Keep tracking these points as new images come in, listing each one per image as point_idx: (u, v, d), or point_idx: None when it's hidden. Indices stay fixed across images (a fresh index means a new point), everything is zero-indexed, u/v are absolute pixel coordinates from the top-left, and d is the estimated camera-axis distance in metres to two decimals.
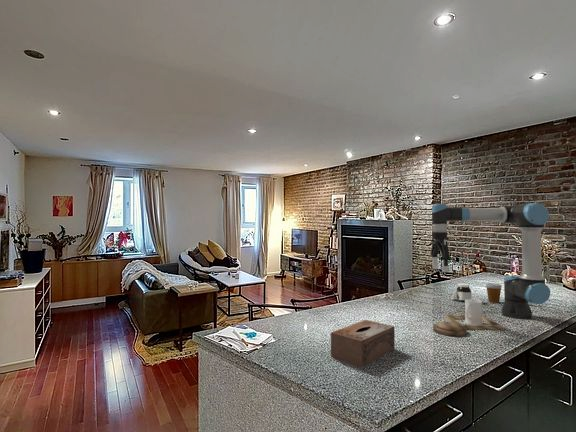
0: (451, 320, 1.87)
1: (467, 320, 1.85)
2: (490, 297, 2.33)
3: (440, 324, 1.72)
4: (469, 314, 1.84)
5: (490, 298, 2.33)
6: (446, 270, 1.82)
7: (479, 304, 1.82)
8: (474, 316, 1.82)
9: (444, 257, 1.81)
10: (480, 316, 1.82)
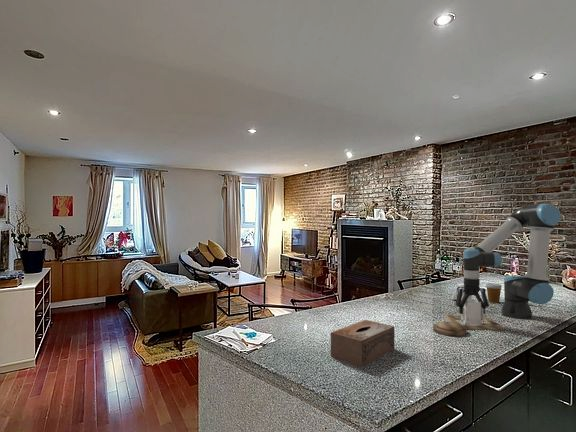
0: (451, 320, 1.87)
1: (466, 320, 1.85)
2: (490, 297, 2.33)
3: (440, 324, 1.72)
4: (468, 314, 1.84)
5: (490, 298, 2.33)
6: (462, 318, 1.85)
7: (478, 304, 1.82)
8: (473, 316, 1.82)
9: None
10: (479, 316, 1.82)
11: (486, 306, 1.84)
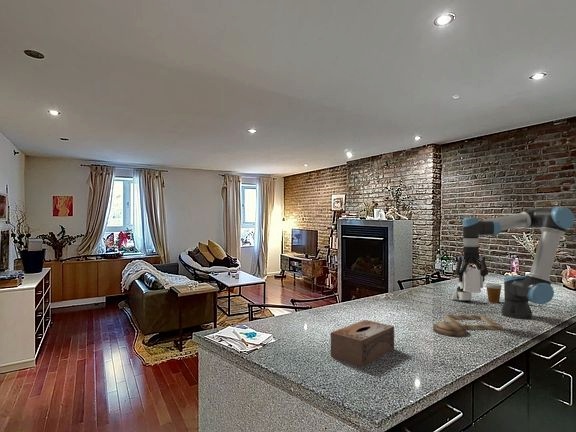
0: (451, 320, 1.87)
1: (465, 288, 1.85)
2: (490, 297, 2.33)
3: (440, 324, 1.72)
4: (468, 282, 1.84)
5: (490, 298, 2.33)
6: (462, 286, 1.85)
7: (477, 272, 1.82)
8: (473, 284, 1.82)
9: None
10: (478, 284, 1.82)
11: (485, 274, 1.84)
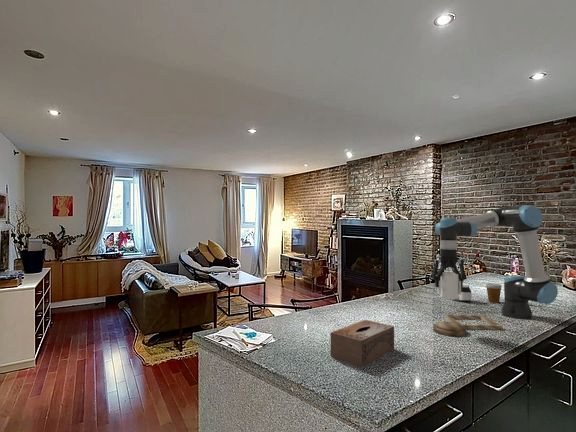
0: (451, 320, 1.87)
1: (442, 294, 1.72)
2: (490, 297, 2.33)
3: (440, 324, 1.72)
4: (444, 287, 1.70)
5: (490, 298, 2.33)
6: (438, 292, 1.71)
7: (455, 276, 1.69)
8: (449, 289, 1.69)
9: None
10: (456, 289, 1.69)
11: (464, 279, 1.71)
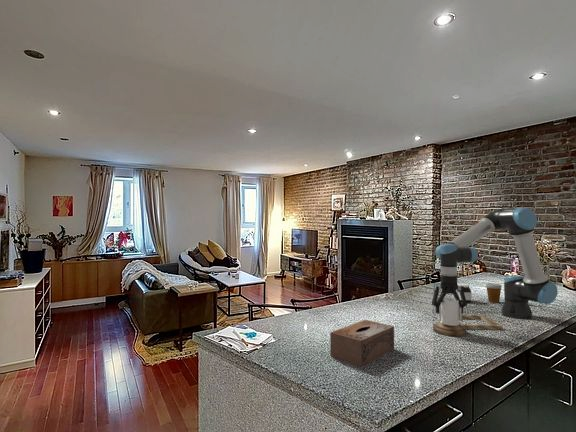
0: None
1: (443, 320, 1.71)
2: (490, 297, 2.33)
3: (440, 324, 1.72)
4: (445, 314, 1.70)
5: (490, 298, 2.33)
6: (439, 318, 1.71)
7: (455, 303, 1.69)
8: (450, 316, 1.69)
9: None
10: (456, 316, 1.69)
11: (464, 305, 1.71)
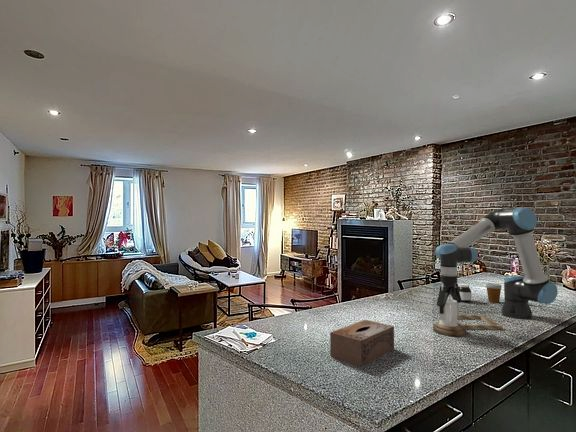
0: None
1: (446, 322, 1.69)
2: (490, 297, 2.33)
3: None
4: (449, 316, 1.69)
5: (490, 298, 2.33)
6: (443, 318, 1.67)
7: (456, 303, 1.71)
8: (454, 317, 1.69)
9: None
10: None
11: None
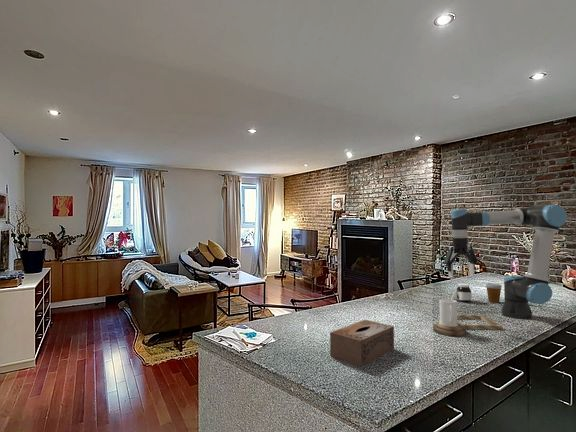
0: None
1: (446, 322, 1.69)
2: (490, 297, 2.33)
3: None
4: (449, 316, 1.69)
5: (490, 298, 2.33)
6: (451, 275, 1.85)
7: (456, 303, 1.71)
8: (454, 317, 1.69)
9: None
10: None
11: (475, 262, 1.89)
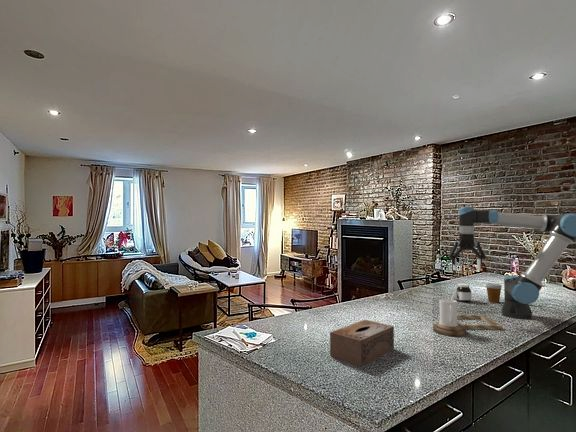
0: None
1: (446, 322, 1.69)
2: (490, 297, 2.33)
3: None
4: (449, 316, 1.69)
5: (490, 298, 2.33)
6: (454, 268, 1.98)
7: (456, 303, 1.71)
8: (454, 317, 1.69)
9: None
10: None
11: (483, 257, 1.97)
